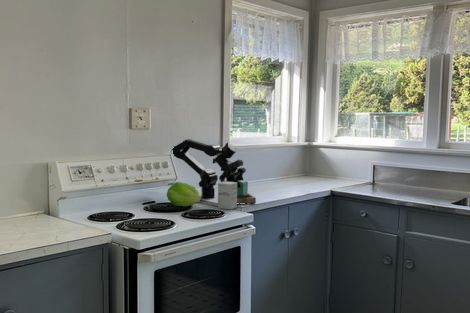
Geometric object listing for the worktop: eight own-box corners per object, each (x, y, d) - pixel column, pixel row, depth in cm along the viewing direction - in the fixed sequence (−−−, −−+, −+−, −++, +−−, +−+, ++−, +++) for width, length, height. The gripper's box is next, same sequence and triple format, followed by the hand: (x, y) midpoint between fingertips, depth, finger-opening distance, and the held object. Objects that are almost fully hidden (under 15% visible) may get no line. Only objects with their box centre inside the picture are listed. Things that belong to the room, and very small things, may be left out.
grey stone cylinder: (217, 208, 230) (217, 183, 229) (224, 205, 237) (224, 180, 236) (230, 209, 227) (230, 184, 226) (237, 207, 234) (237, 182, 232)
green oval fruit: (187, 213, 220) (187, 187, 219) (162, 206, 235) (161, 182, 233) (209, 208, 230) (209, 184, 229) (183, 202, 244) (183, 179, 243)
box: (231, 204, 238) (231, 199, 238) (225, 199, 251) (224, 194, 250) (255, 203, 242) (255, 197, 241) (248, 198, 254) (248, 193, 254)
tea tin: (235, 199, 245) (236, 181, 244) (239, 198, 249) (240, 179, 247) (242, 201, 243) (243, 182, 241) (247, 199, 246) (247, 181, 245)
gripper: (224, 155, 238) (242, 179, 233) (243, 152, 253) (260, 174, 249) (211, 170, 243) (229, 193, 238) (230, 166, 258) (248, 187, 254)
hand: (242, 186), depth 244 cm, fingers closed on tea tin, 4 cm apart
